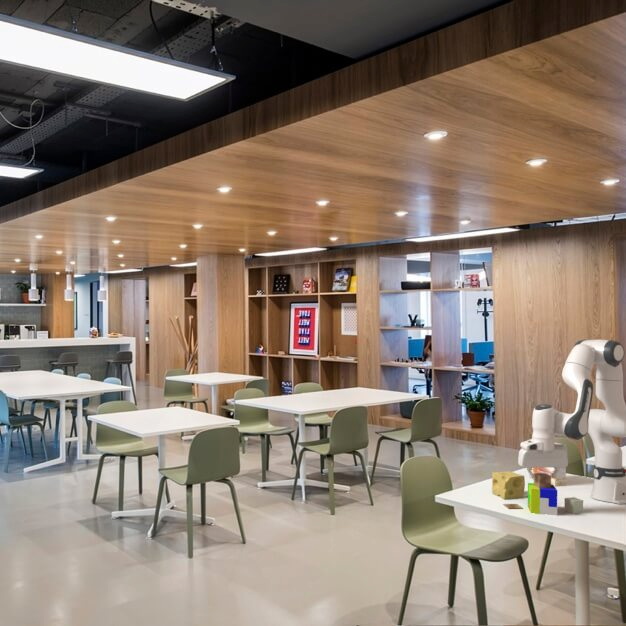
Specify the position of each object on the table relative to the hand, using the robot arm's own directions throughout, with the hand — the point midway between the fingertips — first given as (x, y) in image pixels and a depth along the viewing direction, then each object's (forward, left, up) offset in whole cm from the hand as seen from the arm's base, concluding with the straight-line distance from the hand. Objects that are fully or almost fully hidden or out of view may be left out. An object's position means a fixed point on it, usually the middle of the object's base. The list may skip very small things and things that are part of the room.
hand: (543, 478), depth 259 cm
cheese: (+5, -23, -14) cm, 27 cm away
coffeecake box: (-26, -46, -14) cm, 54 cm away
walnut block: (0, 0, -4) cm, 4 cm away
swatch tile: (+10, -6, -13) cm, 18 cm away
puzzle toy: (0, 0, -14) cm, 14 cm away
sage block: (-13, +1, -14) cm, 19 cm away
